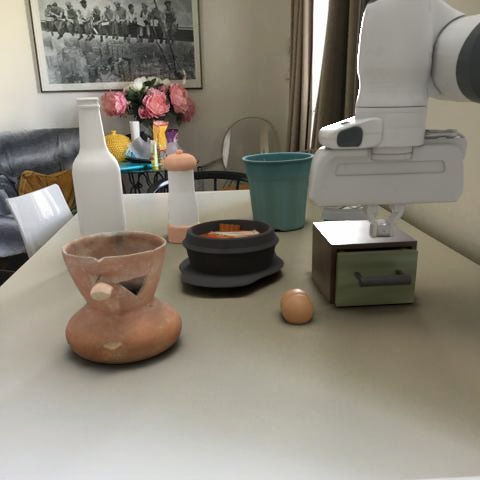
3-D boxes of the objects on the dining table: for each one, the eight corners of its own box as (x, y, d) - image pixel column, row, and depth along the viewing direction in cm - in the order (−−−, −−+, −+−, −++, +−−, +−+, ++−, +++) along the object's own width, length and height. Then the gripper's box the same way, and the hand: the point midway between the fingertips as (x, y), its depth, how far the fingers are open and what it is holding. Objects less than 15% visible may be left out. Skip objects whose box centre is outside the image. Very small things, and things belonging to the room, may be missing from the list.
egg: (278, 313, 83) (278, 285, 81) (307, 312, 83) (308, 283, 82) (284, 330, 77) (284, 300, 75) (316, 329, 77) (316, 299, 76)
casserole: (203, 253, 114) (201, 211, 111) (295, 257, 110) (295, 214, 107) (156, 294, 92) (151, 244, 89) (268, 302, 88) (267, 249, 84)
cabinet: (411, 302, 85) (417, 240, 82) (329, 307, 85) (331, 244, 81) (383, 273, 99) (386, 219, 95) (311, 277, 98) (312, 222, 95)
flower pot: (247, 235, 127) (245, 161, 121) (241, 220, 142) (239, 153, 136) (319, 232, 128) (321, 158, 122) (306, 217, 143) (306, 150, 137)
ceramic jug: (172, 380, 65) (162, 261, 59) (48, 381, 66) (27, 263, 60) (192, 320, 81) (185, 223, 76) (93, 321, 82) (79, 225, 77)
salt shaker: (167, 236, 128) (160, 148, 121) (199, 234, 129) (194, 147, 122) (169, 244, 122) (162, 152, 114) (203, 242, 123) (198, 150, 115)
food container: (343, 267, 103) (345, 212, 99) (320, 260, 108) (321, 207, 104) (388, 254, 110) (392, 202, 106) (364, 248, 114) (367, 198, 110)
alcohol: (93, 254, 116) (72, 97, 105) (135, 254, 115) (118, 96, 104) (77, 266, 108) (53, 98, 97) (122, 266, 107) (103, 97, 96)
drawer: (424, 313, 79) (429, 259, 76) (343, 317, 78) (346, 263, 75) (385, 274, 95) (389, 229, 92) (318, 278, 95) (320, 232, 92)
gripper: (458, 126, 76) (446, 228, 81) (306, 131, 75) (304, 233, 80) (479, 130, 70) (465, 239, 75) (315, 134, 69) (312, 245, 74)
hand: (381, 236), depth 78 cm, fingers closed
